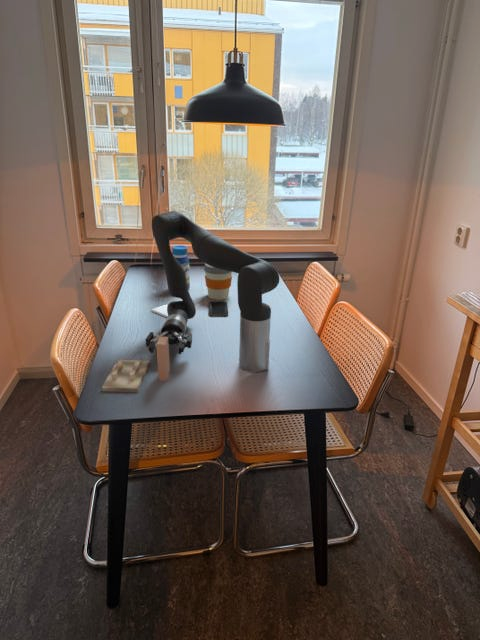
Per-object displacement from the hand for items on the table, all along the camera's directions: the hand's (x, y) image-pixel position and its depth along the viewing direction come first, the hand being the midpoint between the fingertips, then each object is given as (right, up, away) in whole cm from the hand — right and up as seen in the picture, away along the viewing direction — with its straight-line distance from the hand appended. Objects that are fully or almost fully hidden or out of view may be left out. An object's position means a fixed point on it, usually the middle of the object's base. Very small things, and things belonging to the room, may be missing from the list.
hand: (165, 350), depth 129 cm
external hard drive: (-6, +12, +45) cm, 47 cm away
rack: (-11, -8, -2) cm, 14 cm away
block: (0, -8, -1) cm, 8 cm away
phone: (+14, +13, +49) cm, 52 cm away
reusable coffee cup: (+13, +20, +63) cm, 68 cm away
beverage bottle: (-5, +24, +71) cm, 75 cm away
